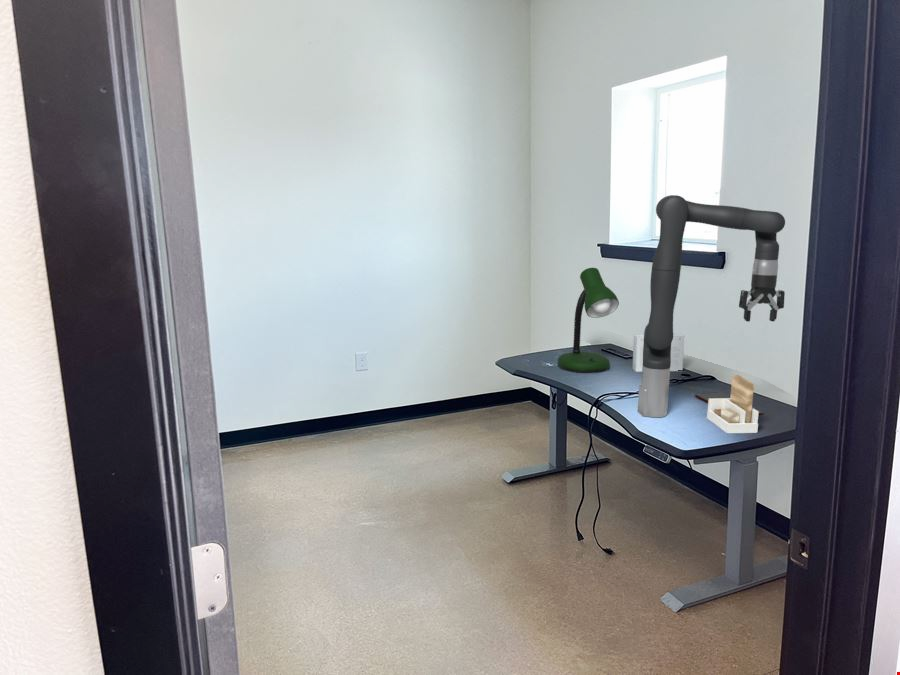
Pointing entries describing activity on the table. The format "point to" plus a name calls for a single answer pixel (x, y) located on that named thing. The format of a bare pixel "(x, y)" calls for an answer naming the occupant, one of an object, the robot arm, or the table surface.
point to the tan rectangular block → (742, 394)
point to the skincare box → (676, 352)
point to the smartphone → (707, 396)
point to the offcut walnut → (717, 412)
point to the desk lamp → (596, 305)
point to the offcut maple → (730, 415)
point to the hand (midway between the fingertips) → (759, 321)
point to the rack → (732, 427)
